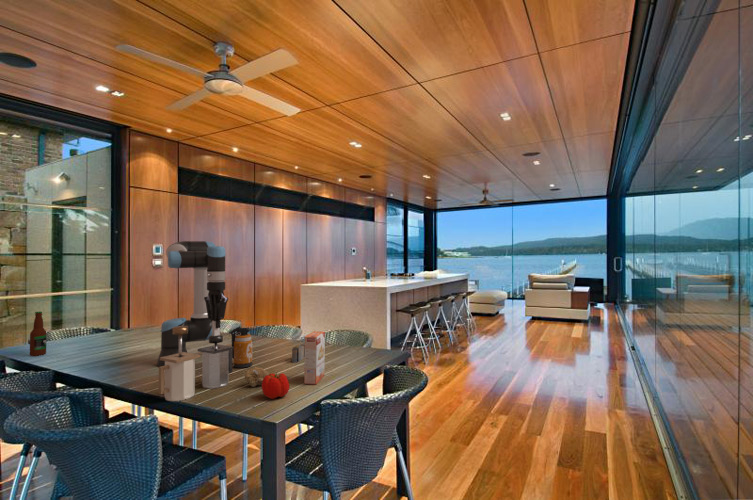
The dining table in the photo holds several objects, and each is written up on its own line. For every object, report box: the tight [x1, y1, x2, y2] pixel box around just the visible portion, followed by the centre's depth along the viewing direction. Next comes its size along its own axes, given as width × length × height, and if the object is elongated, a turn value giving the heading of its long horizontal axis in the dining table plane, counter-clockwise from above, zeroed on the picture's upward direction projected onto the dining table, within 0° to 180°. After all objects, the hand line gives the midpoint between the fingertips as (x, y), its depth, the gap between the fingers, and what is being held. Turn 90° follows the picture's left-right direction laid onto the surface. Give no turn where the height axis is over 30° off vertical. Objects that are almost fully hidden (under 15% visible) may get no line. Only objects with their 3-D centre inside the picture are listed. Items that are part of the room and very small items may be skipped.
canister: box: [230, 326, 253, 369], centre depth 204 cm, size 9×11×20 cm
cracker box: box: [303, 330, 326, 385], centre depth 180 cm, size 14×6×21 cm, turn 172°
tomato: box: [261, 372, 290, 400], centre depth 158 cm, size 11×11×9 cm
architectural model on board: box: [291, 344, 305, 364], centre depth 216 cm, size 11×3×10 cm, turn 166°
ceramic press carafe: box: [158, 352, 201, 402], centre depth 157 cm, size 10×14×16 cm
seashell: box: [244, 366, 270, 388], centre depth 175 cm, size 14×8×8 cm, turn 168°
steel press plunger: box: [208, 334, 224, 349], centre depth 174 cm, size 7×7×16 cm
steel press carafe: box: [197, 344, 234, 390], centre depth 175 cm, size 10×14×16 cm
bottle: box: [29, 311, 47, 357], centre depth 231 cm, size 7×7×25 cm
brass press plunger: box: [173, 326, 188, 357], centre depth 159 cm, size 7×7×16 cm
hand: (215, 335), depth 174 cm, fingers closed
